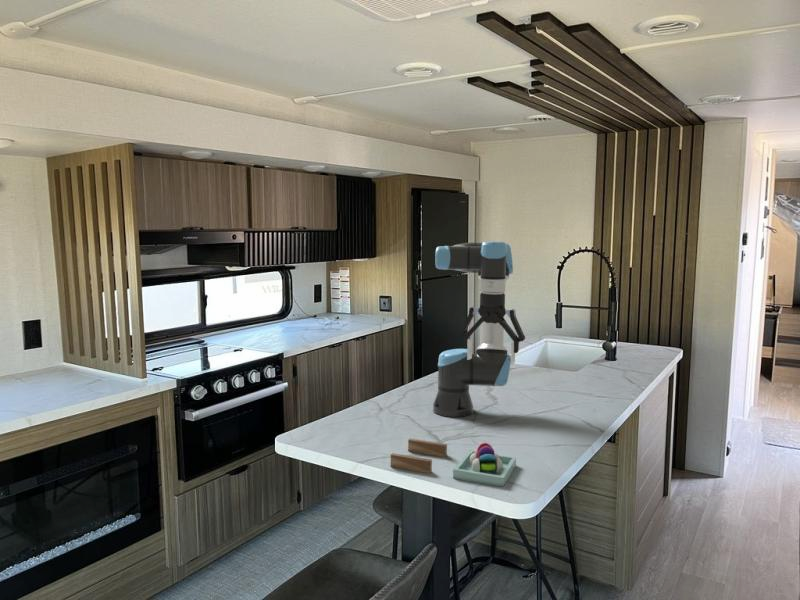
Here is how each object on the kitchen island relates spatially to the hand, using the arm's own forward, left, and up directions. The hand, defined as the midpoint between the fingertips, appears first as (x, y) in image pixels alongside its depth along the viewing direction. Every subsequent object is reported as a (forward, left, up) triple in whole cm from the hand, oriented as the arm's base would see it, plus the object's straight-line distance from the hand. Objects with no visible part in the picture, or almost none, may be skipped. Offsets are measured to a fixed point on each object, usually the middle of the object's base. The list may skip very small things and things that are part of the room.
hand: (490, 361), depth 186 cm
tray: (+18, +4, -28) cm, 34 cm away
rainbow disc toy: (+18, +4, -28) cm, 33 cm away
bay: (+18, -16, -28) cm, 37 cm away
